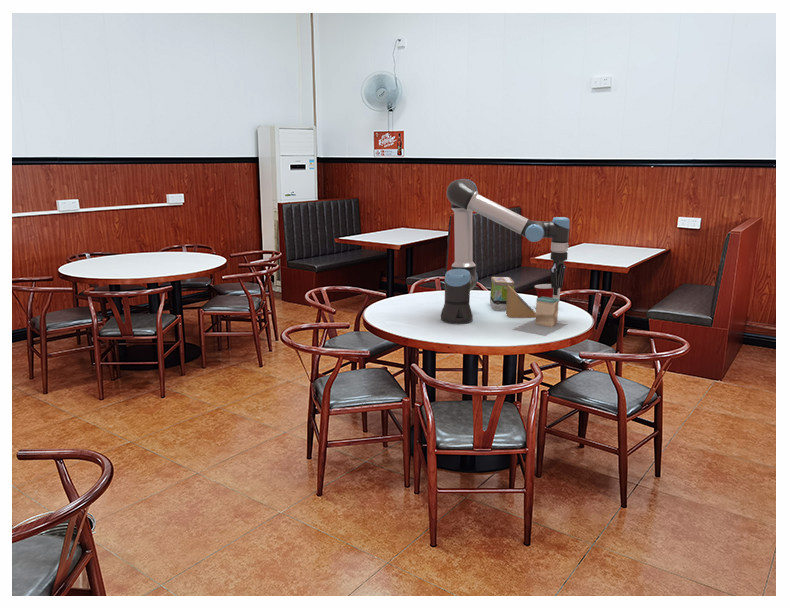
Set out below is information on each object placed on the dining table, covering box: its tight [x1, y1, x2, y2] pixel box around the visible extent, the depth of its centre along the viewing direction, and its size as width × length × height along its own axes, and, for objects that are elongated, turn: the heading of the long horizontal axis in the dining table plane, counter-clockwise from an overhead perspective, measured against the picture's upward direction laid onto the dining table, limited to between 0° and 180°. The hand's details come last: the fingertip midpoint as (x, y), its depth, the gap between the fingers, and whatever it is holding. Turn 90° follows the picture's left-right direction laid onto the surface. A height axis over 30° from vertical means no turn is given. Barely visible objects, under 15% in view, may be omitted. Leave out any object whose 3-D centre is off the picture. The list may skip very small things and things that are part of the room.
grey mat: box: [511, 319, 569, 337], centre depth 279 cm, size 24×16×1 cm, turn 142°
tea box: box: [489, 276, 515, 311], centre depth 316 cm, size 15×10×15 cm
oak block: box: [534, 296, 560, 327], centre depth 282 cm, size 6×8×12 cm
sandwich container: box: [505, 285, 536, 319], centre depth 298 cm, size 9×15×15 cm, turn 89°
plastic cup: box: [534, 283, 553, 299], centre depth 314 cm, size 11×11×12 cm
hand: (555, 301), depth 289 cm, fingers closed
